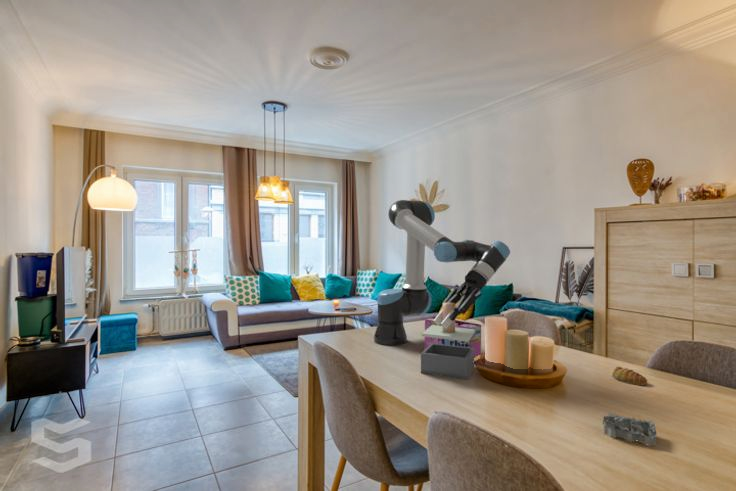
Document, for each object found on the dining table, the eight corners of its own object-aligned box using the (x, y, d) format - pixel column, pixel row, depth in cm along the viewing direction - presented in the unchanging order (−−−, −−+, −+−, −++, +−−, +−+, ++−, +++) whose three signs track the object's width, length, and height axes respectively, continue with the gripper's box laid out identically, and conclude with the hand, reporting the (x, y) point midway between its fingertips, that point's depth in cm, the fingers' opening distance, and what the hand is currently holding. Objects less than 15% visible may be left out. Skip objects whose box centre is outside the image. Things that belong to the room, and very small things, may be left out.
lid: (432, 327, 149) (432, 298, 148) (475, 332, 142) (475, 302, 142) (421, 336, 136) (421, 304, 136) (468, 341, 129) (468, 308, 129)
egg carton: (602, 437, 93) (601, 420, 93) (603, 424, 99) (603, 408, 99) (657, 449, 87) (657, 431, 87) (655, 435, 93) (655, 418, 93)
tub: (431, 361, 149) (431, 343, 149) (474, 367, 143) (474, 347, 143) (420, 373, 137) (420, 353, 136) (467, 379, 130) (467, 358, 130)
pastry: (651, 384, 126) (651, 372, 126) (640, 388, 123) (640, 376, 123) (620, 375, 134) (620, 364, 134) (609, 379, 131) (609, 367, 131)
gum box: (421, 350, 165) (421, 318, 164) (433, 346, 170) (433, 315, 170) (470, 363, 147) (470, 327, 147) (481, 359, 152) (482, 324, 152)
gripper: (500, 286, 136) (460, 337, 131) (470, 280, 152) (433, 325, 147) (488, 271, 134) (447, 323, 128) (459, 267, 150) (421, 312, 145)
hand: (439, 324), depth 138 cm, fingers closed on lid, 4 cm apart
